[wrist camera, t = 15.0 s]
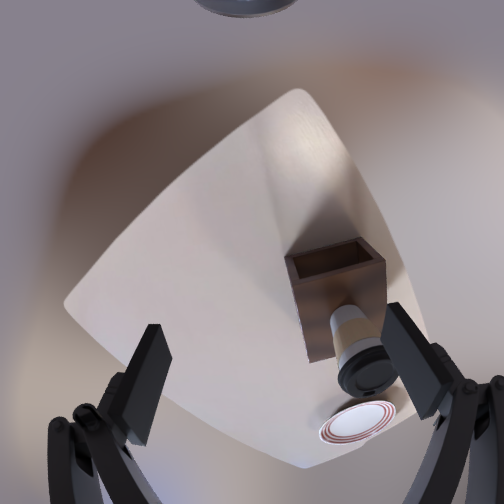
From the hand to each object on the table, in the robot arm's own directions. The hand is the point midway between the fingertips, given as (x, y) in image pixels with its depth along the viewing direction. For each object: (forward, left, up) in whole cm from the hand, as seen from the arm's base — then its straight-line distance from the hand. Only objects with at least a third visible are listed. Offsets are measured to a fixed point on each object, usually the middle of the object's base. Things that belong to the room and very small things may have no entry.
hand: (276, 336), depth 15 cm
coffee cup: (+14, +18, -25) cm, 34 cm away
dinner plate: (+63, +48, -37) cm, 87 cm away
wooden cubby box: (+14, +18, -37) cm, 43 cm away
